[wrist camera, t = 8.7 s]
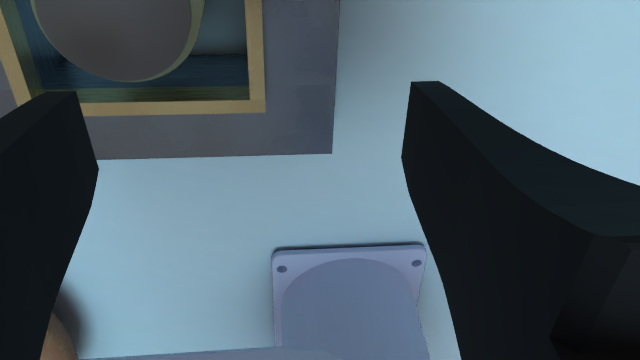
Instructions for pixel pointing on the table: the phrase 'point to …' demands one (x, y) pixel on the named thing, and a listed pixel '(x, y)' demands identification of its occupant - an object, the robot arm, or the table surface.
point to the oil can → (122, 34)
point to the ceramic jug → (57, 342)
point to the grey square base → (195, 88)
